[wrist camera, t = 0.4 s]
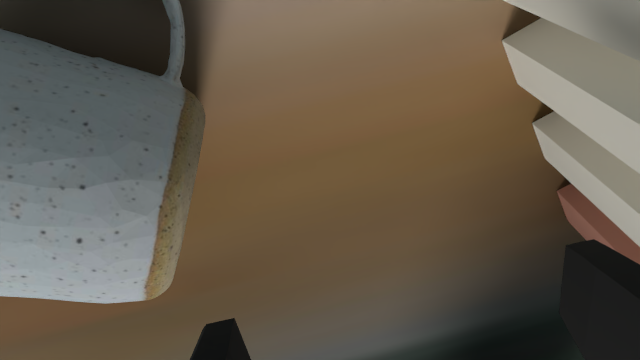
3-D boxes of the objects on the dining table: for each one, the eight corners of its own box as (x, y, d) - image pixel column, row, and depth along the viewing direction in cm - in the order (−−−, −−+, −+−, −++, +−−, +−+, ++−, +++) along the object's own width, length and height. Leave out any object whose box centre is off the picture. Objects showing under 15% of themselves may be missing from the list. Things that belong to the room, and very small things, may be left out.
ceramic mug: (185, 224, 21) (154, 376, 14) (-31, 187, 19) (-186, 343, 12) (239, -36, 16) (230, 10, 9) (-43, -123, 14) (-307, -144, 7)
